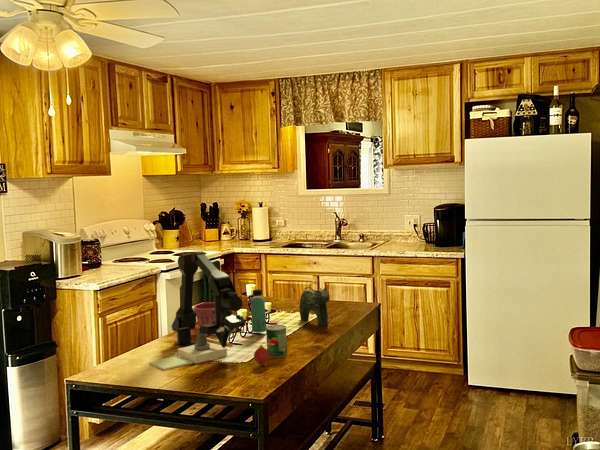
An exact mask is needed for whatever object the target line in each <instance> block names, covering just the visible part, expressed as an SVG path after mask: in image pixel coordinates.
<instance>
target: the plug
mask: <svg viewBox="0 0 600 450" xmlns="http://www.w3.org/2000/svg"><path fill="white" fill-rule="evenodd" d="M195 332H196V334H195V335H196V343H194V344H193V345H194V347H195V350H198V351H203V350H207V349H209V348H210V344H209V343H207V338H208V337H207V336H208V335H207V334H203V333H200V329H198V330H196V331H195Z"/></svg>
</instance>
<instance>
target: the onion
mask: <svg viewBox="0 0 600 450" xmlns="http://www.w3.org/2000/svg"><path fill="white" fill-rule="evenodd" d="M270 358H271V357H270V356H269V352H268V350H267V347H264V346H263V345H262V344H260V345H259V347H258V348H257V349H256V350H255V351H254V352H253V359H254V362H255V363H257V365H259V366H260V367H264V366H265V365H266V364H267V363H268V362H269V360H270Z"/></svg>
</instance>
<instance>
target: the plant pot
mask: <svg viewBox="0 0 600 450" xmlns="http://www.w3.org/2000/svg"><path fill="white" fill-rule="evenodd" d="M193 310H194V312H196V314H197V315H196V321H197V323H198V327H199V328H200V326H201V325H205V324H211V325H215V324H213V321H215V314H214V313H213V311H214V310H215V306H214V301H212V302H211V301H209V302H201V303H197V304H195V305H194V306H193ZM219 327H220V326H219ZM207 336H216V335H215V334H209V335H208V334H207Z"/></svg>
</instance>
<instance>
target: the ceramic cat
mask: <svg viewBox="0 0 600 450" xmlns="http://www.w3.org/2000/svg"><path fill="white" fill-rule="evenodd" d="M312 284H313V285H315V284H316V285H317V286H316V287H317V289H313V288H312V286H311V287H310V286H309V287H305V288H304V289H303V291H302V293H301V295H300V300H299V316H300V321H301V322H302V321H303V322H308V321H309V319H310V312H314V314H315V315H316V319H317V326H320V327H325V326H326V327H327V326H328V325H329V321H328V320H329V316H328V308H327V303H328V302H330V300H331V299H330V298H331V295H330V292H329V291H328V288H327V287H324V288H322V287H319V286H318V282H317V281H314V282H313V283H312ZM307 289H308V290H307Z"/></svg>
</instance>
